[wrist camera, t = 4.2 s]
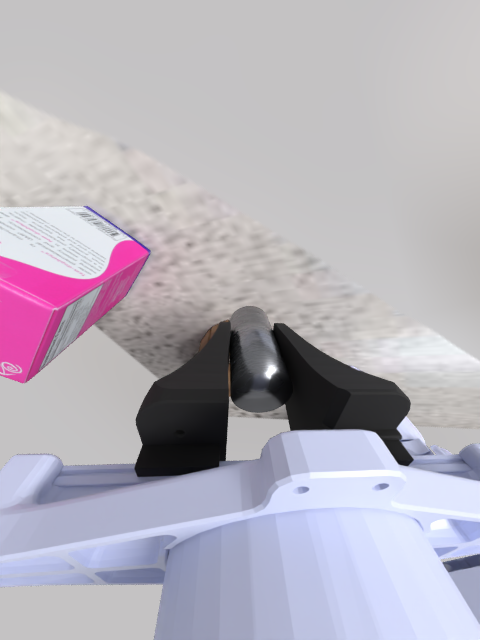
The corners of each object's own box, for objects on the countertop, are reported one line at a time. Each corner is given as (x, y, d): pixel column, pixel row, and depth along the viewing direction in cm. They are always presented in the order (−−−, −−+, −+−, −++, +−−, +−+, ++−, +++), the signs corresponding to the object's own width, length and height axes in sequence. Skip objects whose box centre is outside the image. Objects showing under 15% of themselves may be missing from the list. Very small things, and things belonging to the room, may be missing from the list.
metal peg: (276, 318, 14) (306, 384, 8) (253, 345, 15) (267, 418, 10) (243, 298, 13) (254, 359, 8) (221, 329, 14) (218, 400, 9)
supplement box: (63, 262, 18) (-150, 330, 8) (87, 203, 16) (-165, 192, 6) (126, 298, 20) (21, 389, 10) (153, 251, 18) (57, 305, 8)
